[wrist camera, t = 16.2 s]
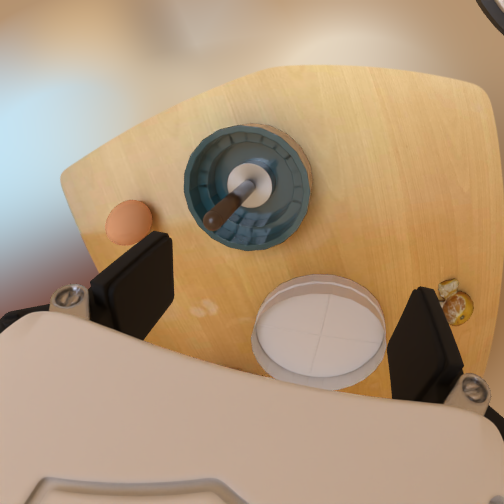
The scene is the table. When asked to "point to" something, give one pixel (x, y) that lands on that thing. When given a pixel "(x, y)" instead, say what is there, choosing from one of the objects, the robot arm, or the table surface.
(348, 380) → the dish
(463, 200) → the table surface
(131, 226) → the egg
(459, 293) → the fruit
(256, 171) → the upright rod
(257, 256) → the table surface
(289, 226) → the bowl
